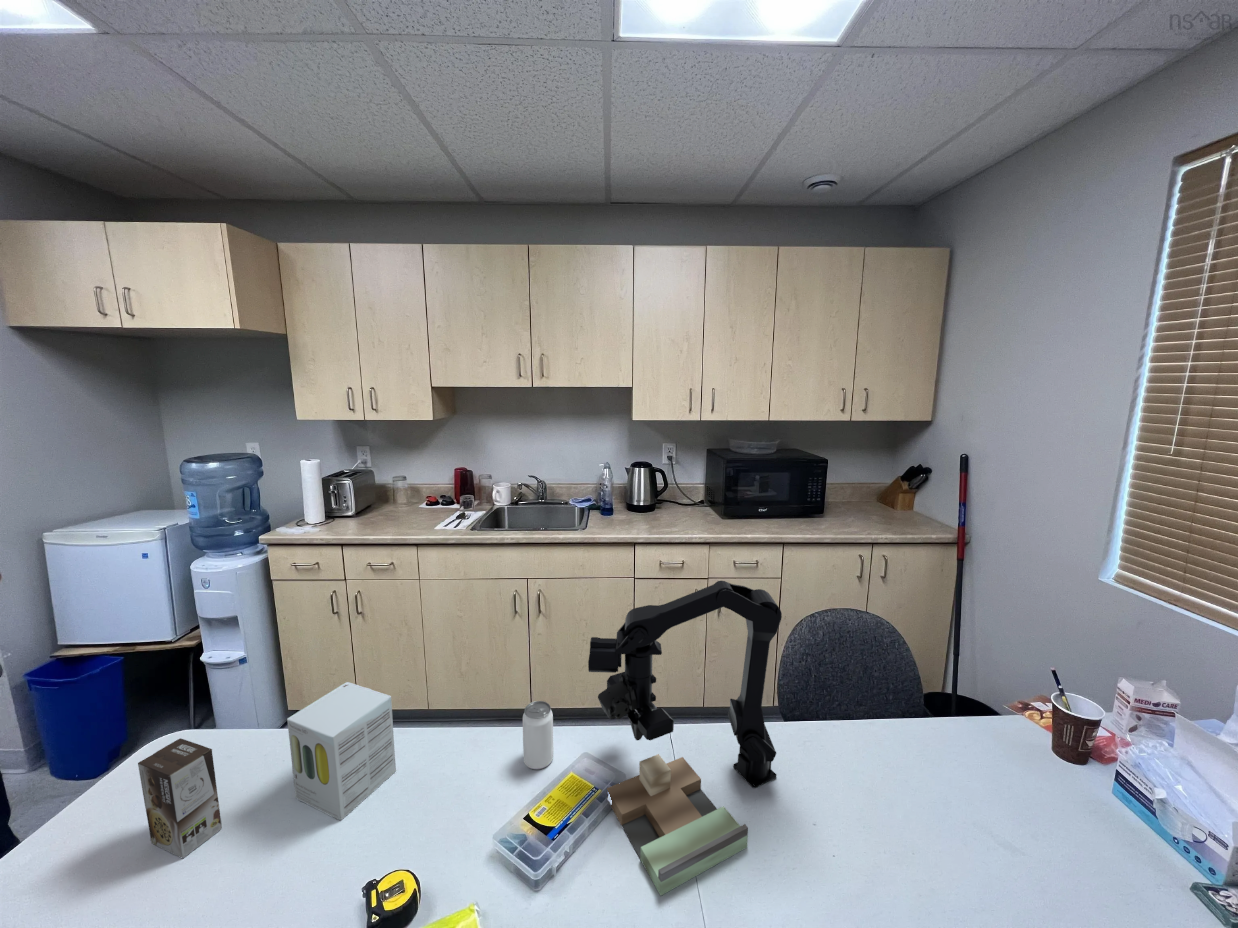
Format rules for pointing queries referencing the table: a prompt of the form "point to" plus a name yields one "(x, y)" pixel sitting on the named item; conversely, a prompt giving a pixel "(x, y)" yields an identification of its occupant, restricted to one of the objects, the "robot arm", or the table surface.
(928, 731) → the table surface
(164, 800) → the coffee box
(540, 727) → the can
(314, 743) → the supplement box
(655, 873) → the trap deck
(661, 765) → the maple block
